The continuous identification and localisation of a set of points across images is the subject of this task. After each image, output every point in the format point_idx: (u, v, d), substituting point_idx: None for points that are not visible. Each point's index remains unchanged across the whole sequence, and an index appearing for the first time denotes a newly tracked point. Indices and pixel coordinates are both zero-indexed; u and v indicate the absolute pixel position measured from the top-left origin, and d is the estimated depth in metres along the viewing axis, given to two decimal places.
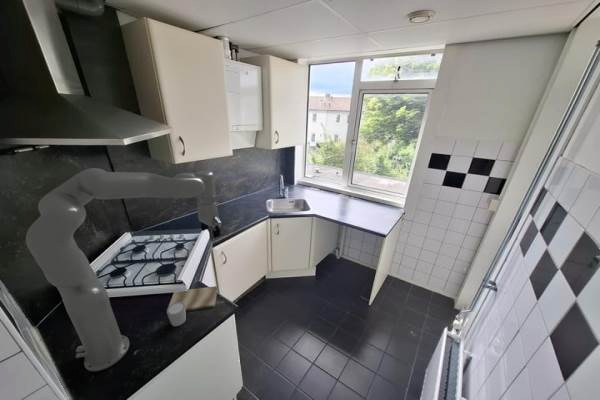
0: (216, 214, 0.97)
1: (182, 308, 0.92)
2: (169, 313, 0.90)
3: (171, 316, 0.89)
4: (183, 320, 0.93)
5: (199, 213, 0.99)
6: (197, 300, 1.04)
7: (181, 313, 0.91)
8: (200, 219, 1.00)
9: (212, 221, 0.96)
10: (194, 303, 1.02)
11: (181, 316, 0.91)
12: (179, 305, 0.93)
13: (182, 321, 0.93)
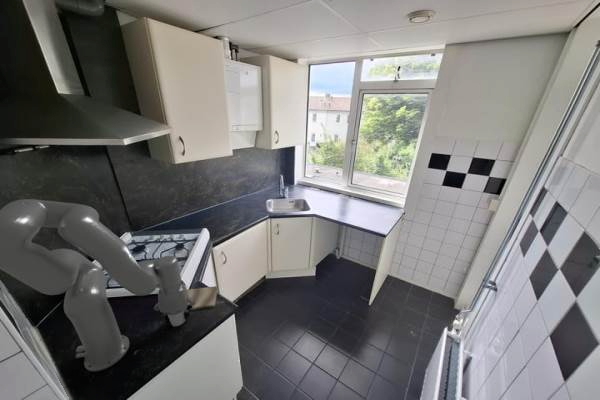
0: (187, 294, 0.92)
1: None
2: (169, 313, 0.90)
3: (171, 316, 0.89)
4: (183, 320, 0.93)
5: (164, 305, 0.87)
6: (197, 300, 1.04)
7: (181, 313, 0.91)
8: (166, 310, 0.88)
9: None
10: None
11: (181, 316, 0.91)
12: None
13: (182, 321, 0.93)
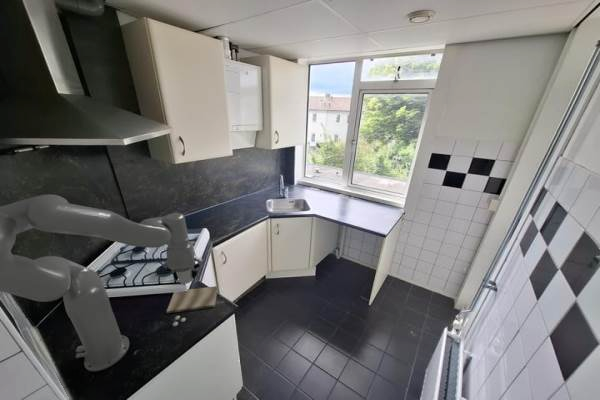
0: (194, 252, 0.94)
1: None
2: (177, 270, 0.92)
3: (179, 273, 0.92)
4: (191, 279, 0.96)
5: (172, 261, 0.89)
6: (197, 300, 1.04)
7: (189, 271, 0.93)
8: (174, 267, 0.90)
9: None
10: (194, 303, 1.02)
11: (189, 274, 0.94)
12: None
13: (190, 279, 0.95)
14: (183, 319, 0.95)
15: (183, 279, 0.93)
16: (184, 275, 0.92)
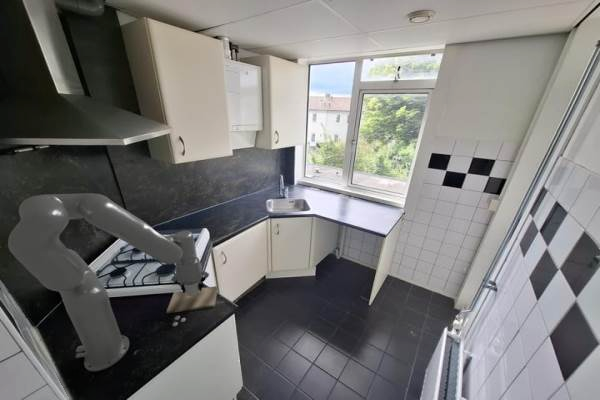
0: (201, 267, 1.01)
1: None
2: (185, 284, 0.99)
3: (187, 286, 0.98)
4: (197, 291, 1.03)
5: (181, 275, 0.96)
6: (197, 300, 1.04)
7: (196, 284, 1.00)
8: (182, 280, 0.97)
9: None
10: (194, 303, 1.02)
11: (196, 287, 1.01)
12: None
13: (197, 292, 1.02)
14: (183, 319, 0.95)
15: (190, 291, 1.00)
16: (192, 288, 0.99)
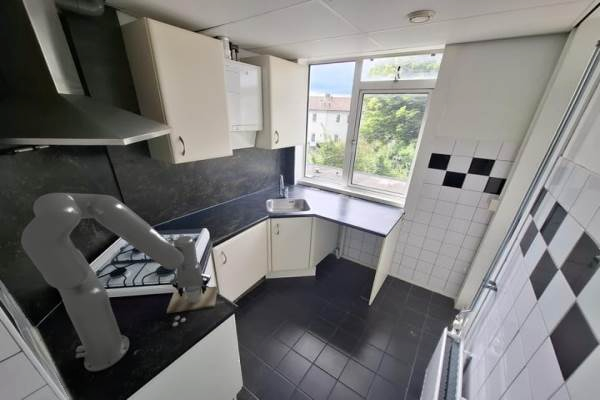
0: (201, 271, 1.02)
1: (198, 286, 1.02)
2: (187, 290, 1.00)
3: (189, 293, 1.00)
4: (199, 297, 1.04)
5: (181, 280, 0.97)
6: None
7: (198, 290, 1.01)
8: (183, 285, 0.98)
9: (201, 279, 1.01)
10: (194, 303, 1.02)
11: (197, 293, 1.02)
12: None
13: (198, 298, 1.03)
14: (183, 319, 0.95)
15: (192, 298, 1.01)
16: (193, 294, 1.01)
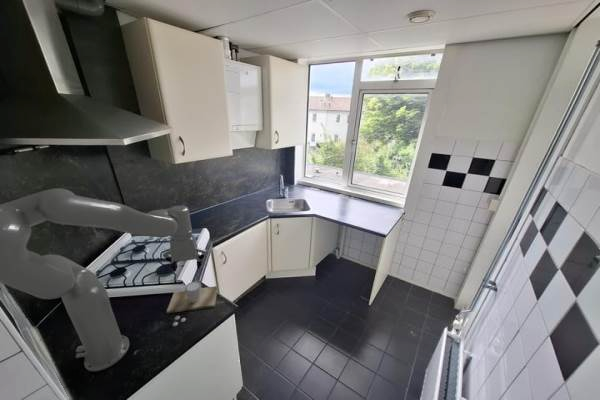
0: None
1: (198, 286, 1.02)
2: (187, 290, 1.00)
3: (189, 293, 1.00)
4: (199, 297, 1.04)
5: (175, 252, 0.92)
6: None
7: (198, 290, 1.01)
8: (177, 258, 0.93)
9: (196, 253, 0.95)
10: (194, 303, 1.02)
11: (197, 293, 1.02)
12: (196, 284, 1.04)
13: (198, 298, 1.03)
14: (183, 319, 0.95)
15: (192, 298, 1.01)
16: (193, 294, 1.01)
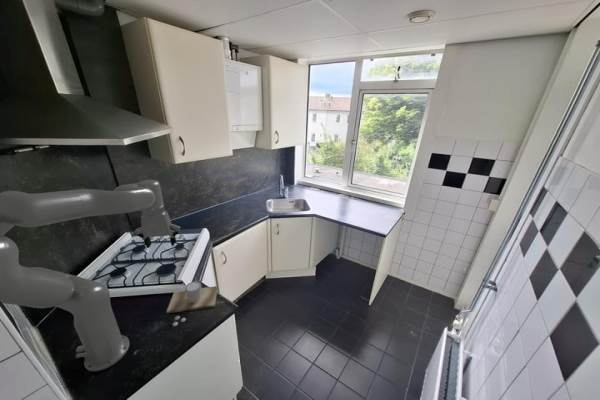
0: (170, 221, 0.95)
1: (198, 286, 1.02)
2: (187, 290, 1.00)
3: (189, 293, 1.00)
4: (199, 297, 1.04)
5: (147, 228, 0.90)
6: None
7: (198, 290, 1.01)
8: (149, 234, 0.91)
9: (169, 229, 0.94)
10: (194, 303, 1.02)
11: (197, 293, 1.02)
12: (196, 284, 1.04)
13: (198, 298, 1.03)
14: (183, 319, 0.95)
15: (192, 298, 1.01)
16: (193, 294, 1.01)
